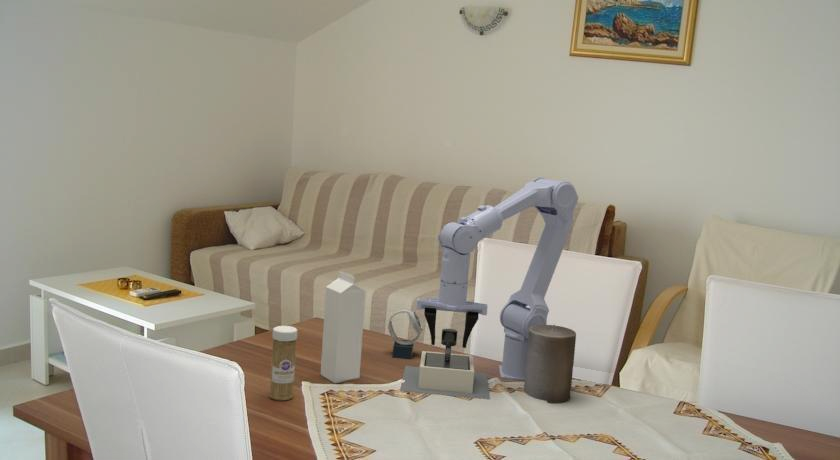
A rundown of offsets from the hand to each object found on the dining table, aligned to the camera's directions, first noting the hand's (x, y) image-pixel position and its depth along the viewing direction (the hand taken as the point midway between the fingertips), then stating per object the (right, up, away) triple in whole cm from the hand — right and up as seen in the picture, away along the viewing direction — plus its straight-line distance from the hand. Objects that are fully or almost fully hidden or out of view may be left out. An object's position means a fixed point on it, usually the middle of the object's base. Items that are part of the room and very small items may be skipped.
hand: (448, 345), depth 153 cm
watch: (-10, -6, +17) cm, 21 cm away
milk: (-23, -7, 0) cm, 24 cm away
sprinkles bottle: (-32, -8, -14) cm, 36 cm away
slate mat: (-1, -8, +1) cm, 8 cm away
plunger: (0, -5, +1) cm, 5 cm away
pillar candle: (+20, -10, -1) cm, 23 cm away
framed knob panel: (-1, -8, +1) cm, 8 cm away
